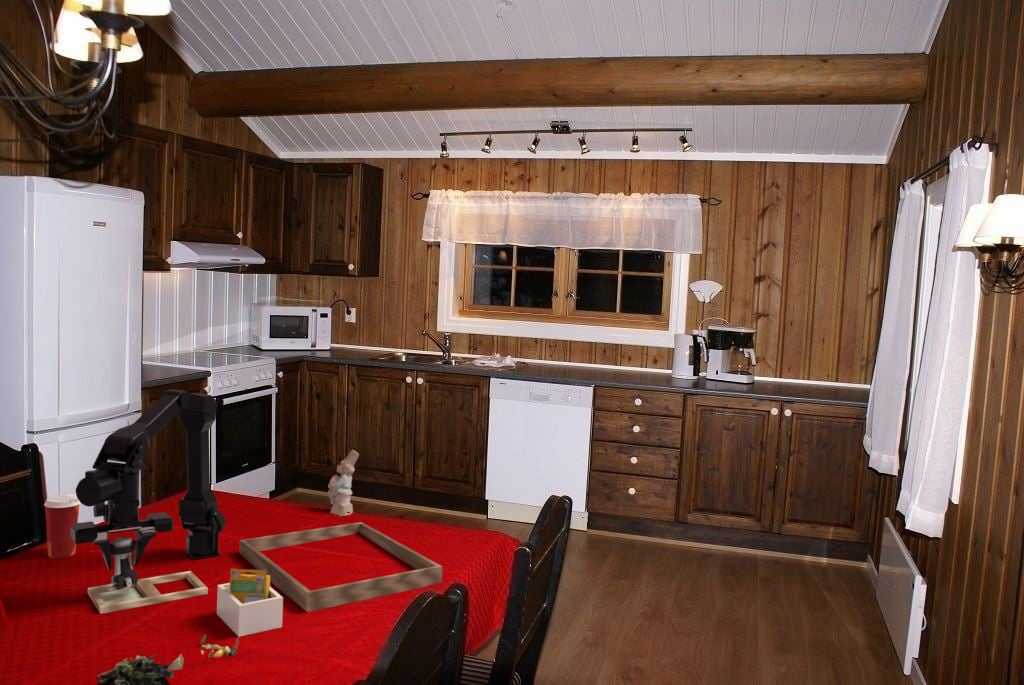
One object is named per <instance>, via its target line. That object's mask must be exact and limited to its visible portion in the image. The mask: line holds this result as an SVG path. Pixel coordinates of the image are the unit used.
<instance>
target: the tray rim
mask: <svg viewBox="0 0 1024 685" xmlns="http://www.w3.org/2000/svg"><path fill="white" fill-rule="evenodd" d="M356 534H360V535H362V536H364V537H365V538H366V539H369V540H370V541H371V542H373V543H374V544H376V545H378V546H379V547H381V548H382V549H384V550H385V551H387V552H389V553H390V554H392V555H393V556H395V557H397V559H399V560H401V561H403V563H406V564H407V565H408V566H411V567H412V568H413V569H414V570H409V571H403V572H398V573H394V574H389V575H383V576H379V577H373V578H369V579H364V580H363V579H362V580H359V581H358V580H357V581H354V582H353V581H352V582H348V583H343V584H339V585H333V586H328V587H321V588H319V589H317V588H316V589H314V590H310V589H309V588H308V587H306V586H305V585H304V584H302V583H301V582H300V581H298V580H297V579H296V578H294V577H293V576H292V575H290V574H289V573H288V572H287V571H285V570H284V569H283V568H281V567H280V565H278V564H276V563H275V562H274V561H273V560H271V559H270V557H267V556H266V555H265V554H263V553H262V552H263V551H269V550H274V549H278V548H284V547H285V548H286V547H290V546H295V545H301V544H306V543H311V542H312V543H313V542H317V541H322V540H324V541H325V540H328V539H333V538H339V537H344V536H349V535H350V536H351V535H356ZM239 554H240V556H242V557H243V558H244V559H245V560H246V561H248V563H250V565H252V566H253V567H254V568H255V570H267V574H266V575H270V583H271V584H273V585H274V586H275V587H276V588H277V589H279V590H280V591H281V592H282V593H283V594H284V595H285V596H287V597H289V598H290V599H291V601H293V602H294V603H296V604H297V605H298V606H299V607H301V608H302V609H303V611H306V613H310V612H315V611H318V610H319V611H320V610H323V609H328V608H329V609H330V608H333V607H338V606H343V605H347V604H352V603H356V602H360V601H361V602H362V601H366V600H370V599H374V598H375V599H376V598H380V597H385V596H390V595H393V594H398V593H402V592H407V591H412V590H415V589H420V588H424V587H427V586H432V585H437V584H440V583H442V581H443V566H442V565H440V564H439V563H437V562H435V561H433V560H431V559H430V558H428V557H426V556H424V555H423V554H420V553H419V552H416V551H415V550H413V549H411V548H409V547H408V546H406V545H404V544H402V543H400V542H399V541H397V540H395V539H393V538H391V537H389V536H388V535H386V534H384V533H382V532H381V531H379V530H377V529H375V528H373V527H371V526H370V525H368V524H366V523H364V522H361V521H360V522H353V523H346V524H339V525H334V526H328V527H319V528H313V529H306V530H301V531H292V532H287V533H279V534H274V535H265V536H261V537H253V538H247V539H240V540H239Z"/></svg>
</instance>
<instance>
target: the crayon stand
mask: <svg viewBox="0 0 1024 685" xmlns="http://www.w3.org/2000/svg"><path fill="white" fill-rule="evenodd" d="M216 594H217V596H216V615H217V616H218V617H219V618H220V619H221V620H222V621H223V623H224V624H226V625H227V626H228V627H229V629H231V631H232V632H233V633H234V634H235V635H236V636H237V638H238V637H239V638H240V637H243V636H248V635H253V634H256V633H262V632H267V631H271V630H275V629H280V628H282V627H283V612H284V611H283V610H284V606H283V605H284V597H283V596H282V595H280V593H278V592H277V591H276V590H275V589H273V587H272V586H270V591H269V599H264V600H259V601H254V602H249V603H244V604H242V603H241V602H240V601H239V600H238V599H237V598H236V597H235V596H233V595H232V594H231V593H230V582H227V583H222V584H217V593H216Z"/></svg>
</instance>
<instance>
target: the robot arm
mask: <svg viewBox="0 0 1024 685" xmlns="http://www.w3.org/2000/svg"><path fill="white" fill-rule="evenodd" d="M217 410H218V403H217V400H216V398H215V397H214V396H213V395H211V394H203V393H202V394H201V393H190V392H187V391H186V390H179V389H167V390H165V391H163V393H162V394H161V397H160V398H159V399H157V401H156V402H155V403H153V405H151V406H150V408H148V409H147V410H146V411H145V412H144V413H143V414H142V415H140V416H139V418H137V419H136V420H135V421H134V422H132V424H130V425H126V426H123V427H121V428H119V429H117V430H115V431H114V432H112V433H111V434H109V435H108V436H107V437H106V438H105V440H104V443H103V445H102V447H101V449H100V450H99V453H98V455H97V457H96V458H95V461H94V463H93V465H92V470H87V471H85V472H84V478H82V479H80V480H79V481H78V483H77V486H76V487H75V495H76V496H77V498H78V500H79V501H80V504H82V506H86V507H93V517H94V518H101V517H103V521H104V522H105V523H107V524H101V525H99V524H98V525H96V524H95V523H94V521H86V522H85V521H84V522H78V523H75V524H73V525H72V527H71V538H72V539H73V541H74V542H75V544H76V545H79V544H80V545H81V544H89V543H92V544H93V545H94V546H98V548H99V549H100V551H101V553H102V557H103V559H104V562H105V564H106V567H107V570H108V571H111V570H112V564H113V563H112V554H111V545H110V544H111V540H110V539H109V538H108V534H116V533H123V532H131V531H134V533H135V541H136V545H135V550H134V551H133V566H134V567H138V565H139V562H140V561H141V558H142V555H143V554H144V552H145V550H146V548H147V547H148V545H149V543H150V541H151V540H152V538H153V539H154V538H157V533H158V534H160V533H166V532H173V531H174V525H175V524H174V522H175V521H174V518H172V517H171V516H170V515H168V514H167V512H157V513H156V512H155V513H149V514H148V515H147V518H145V519H139V518H140V517H139V511H140V510H139V508H140V506H141V504H140V471H142V470H146V468H147V465H146V464H144V463H143V462H142V459H144V457H145V456H146V454H147V453H148V452H149V450H150V449H151V442H152V439H154V437H155V436H156V435H157V434H158V433H159V432H161V430H163V428H164V427H166V425H168V423H169V422H170V421H172V420H173V418H175V416H176V415H177V414H178V415H177V416H178V421H179V423H180V424H181V425H182V427H183V428H184V431H185V433H186V465H187V466H186V467H187V468H186V469H187V475H186V476H187V491H186V493H185V495H184V496H183V497H182V498H181V499H179V501H178V508H179V510H178V511H179V512H178V516H179V517H180V523H181V526H182V530H188V535H186V539H185V542H186V543H185V553H186V554H187V555H188V556H189V557H190V558H192V559H193V560H197V559H203V558H205V559H206V558H210V557H216V556H217V557H218V556H221V551H220V550H219V539H220V538H219V535H220V534H219V533H220V532H223V529H225V527H226V524H227V518H225V516H224V515H223V513H221V510H219V503H218V499H217V497H216V495H215V494H214V492H213V491H212V489H211V475H210V474H211V470H210V469H211V468H210V467H211V465H210V463H211V462H210V429H211V428H212V427H213V424H214V423H215V421H216V419H217ZM106 502H107V503H106ZM155 531H156V532H157V533H156V532H155Z"/></svg>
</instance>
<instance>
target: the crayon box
mask: <svg viewBox="0 0 1024 685" xmlns="http://www.w3.org/2000/svg"><path fill="white" fill-rule="evenodd" d="M246 573H247V574H246ZM248 573H249V574H248ZM266 574H267V570H257V569H242V568H241V569H239V568H238V569H237V568H230V578H229V583H230V593H231V594H232V595H233V596H235V597H236V598H237V599H238V600H239V601H240V602H241V603H242V604H244V603H249V602H254V601H259V600H264V599H269V591H270V587H271V581H270V575H266Z"/></svg>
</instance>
